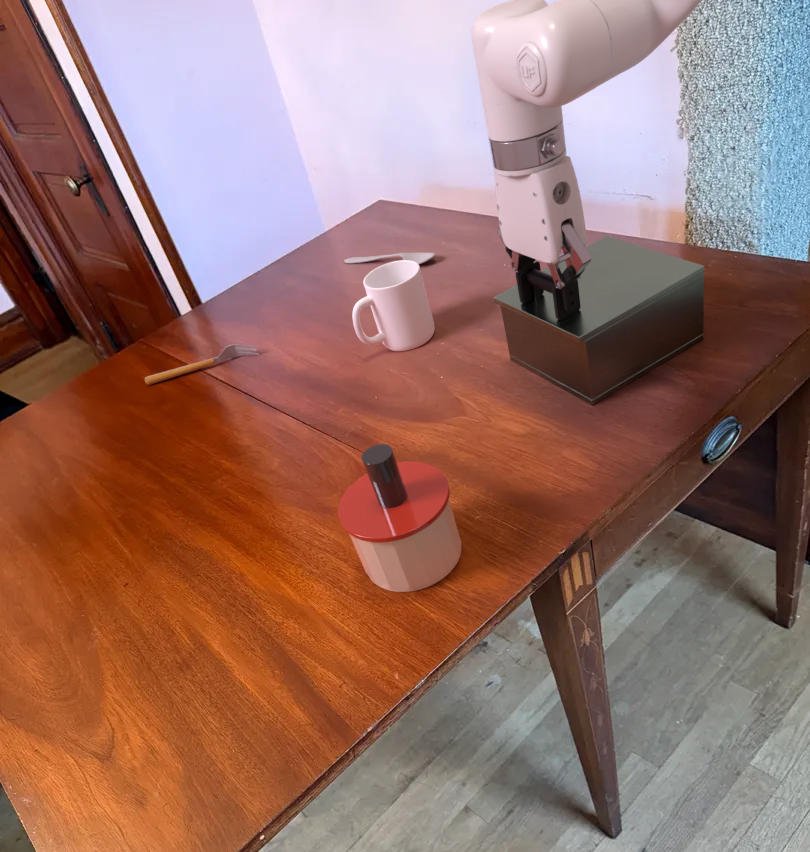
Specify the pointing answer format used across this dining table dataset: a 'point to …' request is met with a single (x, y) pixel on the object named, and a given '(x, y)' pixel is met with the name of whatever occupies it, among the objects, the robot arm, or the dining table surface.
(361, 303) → the cup
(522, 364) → the open box
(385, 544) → the pot
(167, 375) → the fork
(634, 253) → the box lid
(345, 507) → the pot lid
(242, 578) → the dining table surface
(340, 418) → the dining table surface
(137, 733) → the dining table surface
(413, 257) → the spoon
